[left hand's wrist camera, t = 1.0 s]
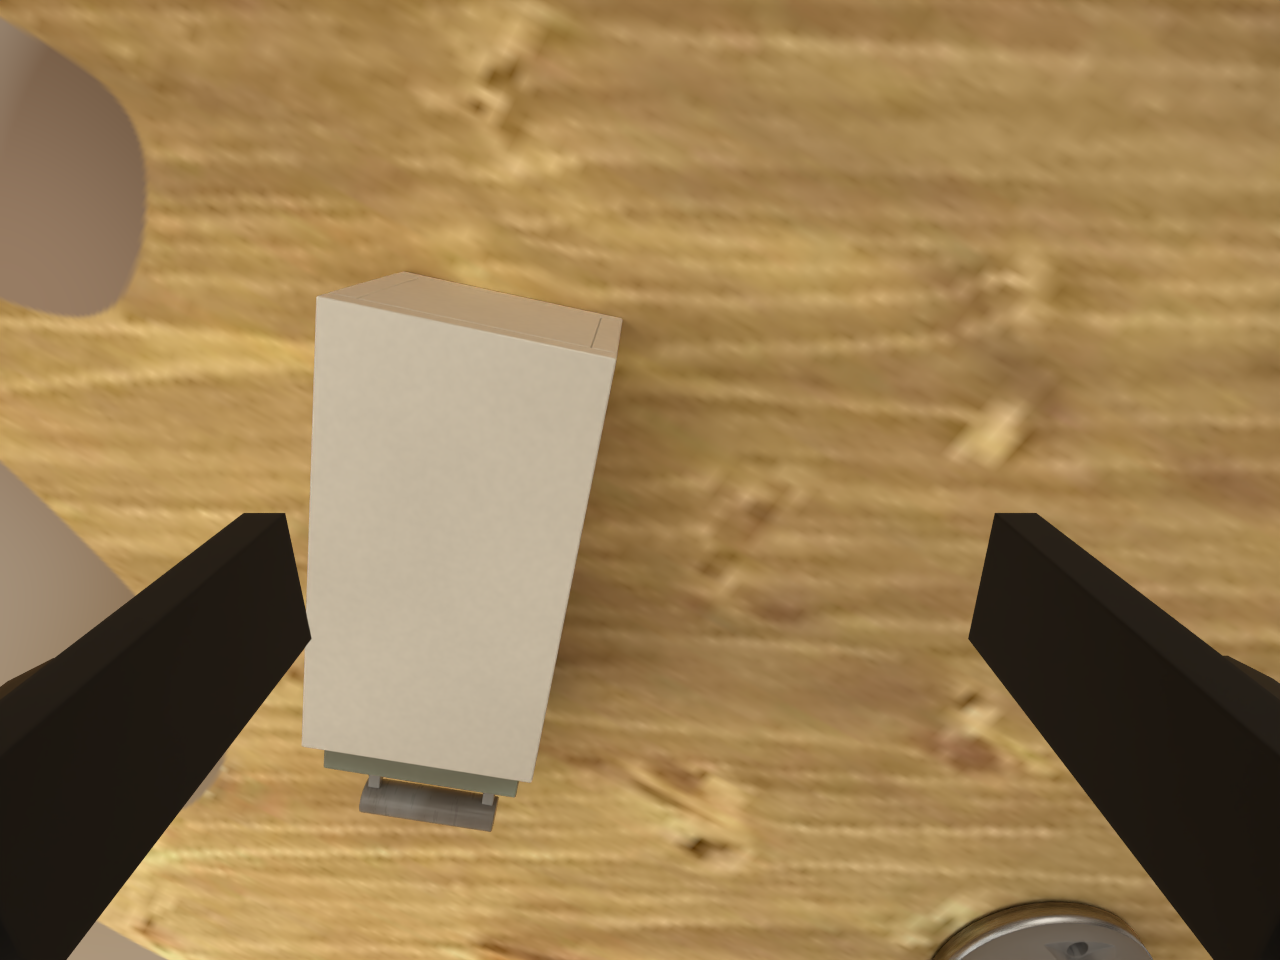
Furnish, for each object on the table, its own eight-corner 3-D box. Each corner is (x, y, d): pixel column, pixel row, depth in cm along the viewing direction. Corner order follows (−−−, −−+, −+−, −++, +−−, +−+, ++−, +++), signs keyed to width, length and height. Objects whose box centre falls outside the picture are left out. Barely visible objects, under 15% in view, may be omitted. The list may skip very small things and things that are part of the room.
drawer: (521, 777, 41) (498, 885, 34) (370, 753, 40) (318, 859, 33) (595, 390, 32) (584, 437, 25) (403, 350, 31) (341, 389, 25)
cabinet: (554, 659, 39) (531, 783, 30) (375, 628, 38) (300, 747, 30) (622, 318, 31) (616, 358, 23) (403, 270, 31) (315, 295, 22)
